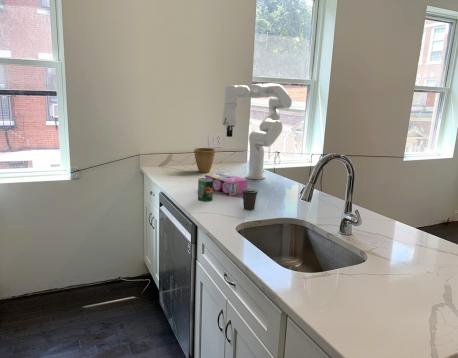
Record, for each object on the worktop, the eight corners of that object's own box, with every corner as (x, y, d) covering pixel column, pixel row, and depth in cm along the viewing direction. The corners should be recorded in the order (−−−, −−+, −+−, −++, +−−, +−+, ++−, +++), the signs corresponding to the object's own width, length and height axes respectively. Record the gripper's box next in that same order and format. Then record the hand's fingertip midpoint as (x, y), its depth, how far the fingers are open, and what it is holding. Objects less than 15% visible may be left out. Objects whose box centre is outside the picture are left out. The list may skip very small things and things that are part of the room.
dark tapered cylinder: (248, 205, 195) (249, 186, 193) (260, 209, 190) (261, 189, 188) (237, 208, 190) (238, 188, 188) (249, 212, 184) (250, 192, 182)
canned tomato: (210, 202, 198) (211, 181, 195) (195, 201, 199) (196, 180, 197) (214, 198, 205) (214, 178, 203) (200, 197, 207) (200, 177, 204)
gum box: (221, 183, 236) (203, 186, 227) (221, 171, 234) (203, 173, 225) (247, 192, 218) (229, 196, 209) (248, 179, 216) (229, 182, 208)
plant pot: (193, 169, 276) (193, 147, 273) (213, 169, 278) (214, 148, 274) (193, 173, 262) (194, 150, 258) (215, 174, 264) (216, 151, 260)
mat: (219, 186, 231) (219, 185, 231) (254, 192, 220) (254, 192, 220) (206, 191, 219) (206, 190, 219) (243, 198, 208) (243, 197, 208)
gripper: (231, 105, 239) (230, 135, 243) (218, 106, 226) (217, 137, 231) (241, 106, 236) (240, 136, 240) (229, 106, 223) (228, 138, 227)
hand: (229, 136), depth 235 cm, fingers closed
